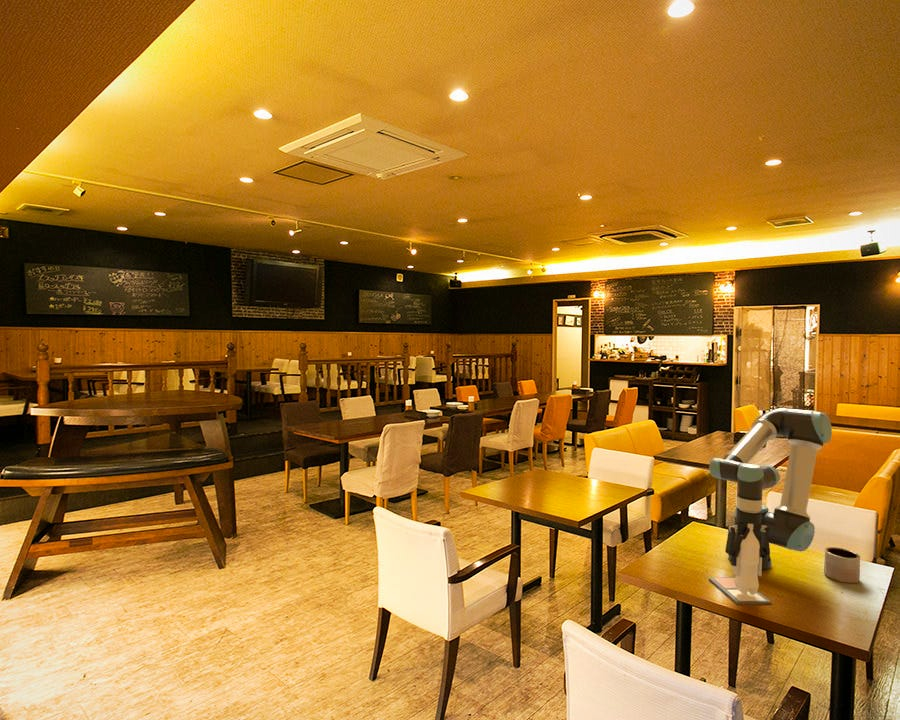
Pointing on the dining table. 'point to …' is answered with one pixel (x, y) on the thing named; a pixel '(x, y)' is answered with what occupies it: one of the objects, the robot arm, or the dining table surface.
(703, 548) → the dining table surface
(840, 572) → the planter
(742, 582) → the water bottle
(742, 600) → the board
